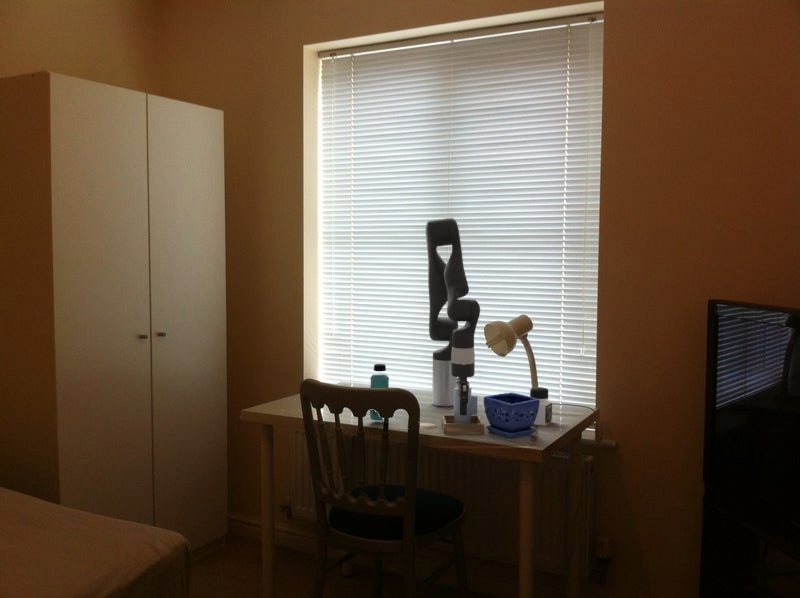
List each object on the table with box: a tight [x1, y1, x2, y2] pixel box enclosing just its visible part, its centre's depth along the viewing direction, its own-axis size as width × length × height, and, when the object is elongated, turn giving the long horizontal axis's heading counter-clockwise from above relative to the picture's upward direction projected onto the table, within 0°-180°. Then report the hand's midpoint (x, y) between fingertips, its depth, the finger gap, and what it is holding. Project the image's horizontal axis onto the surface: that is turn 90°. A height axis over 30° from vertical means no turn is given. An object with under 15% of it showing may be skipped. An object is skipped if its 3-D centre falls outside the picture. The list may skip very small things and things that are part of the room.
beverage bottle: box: [369, 363, 390, 422], centre depth 244 cm, size 6×7×20 cm
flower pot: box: [483, 392, 540, 439], centre depth 230 cm, size 13×13×12 cm
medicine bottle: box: [529, 386, 553, 427], centre depth 246 cm, size 7×7×12 cm
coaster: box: [406, 422, 438, 431], centre depth 238 cm, size 10×10×1 cm
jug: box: [453, 387, 478, 424], centre depth 235 cm, size 6×8×13 cm
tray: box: [441, 414, 485, 435], centre depth 235 cm, size 13×13×4 cm
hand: (462, 412), depth 235 cm, fingers closed on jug, 5 cm apart
